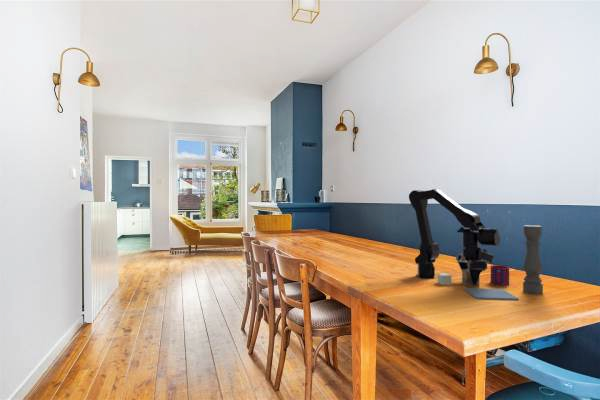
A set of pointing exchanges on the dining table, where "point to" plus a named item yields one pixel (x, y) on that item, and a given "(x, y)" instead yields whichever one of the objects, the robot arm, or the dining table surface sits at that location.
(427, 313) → the dining table surface
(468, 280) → the walnut block
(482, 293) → the placemat
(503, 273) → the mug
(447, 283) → the sage block
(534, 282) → the candle holder
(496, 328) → the dining table surface
